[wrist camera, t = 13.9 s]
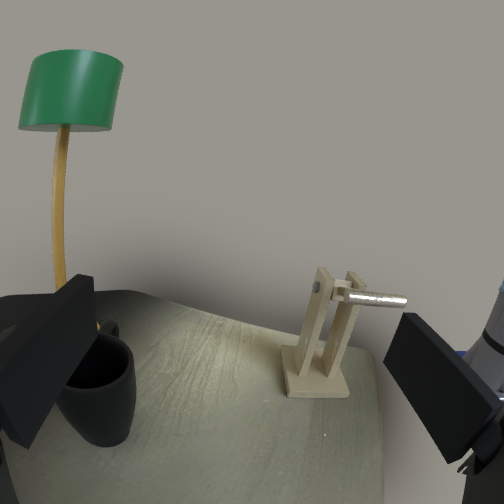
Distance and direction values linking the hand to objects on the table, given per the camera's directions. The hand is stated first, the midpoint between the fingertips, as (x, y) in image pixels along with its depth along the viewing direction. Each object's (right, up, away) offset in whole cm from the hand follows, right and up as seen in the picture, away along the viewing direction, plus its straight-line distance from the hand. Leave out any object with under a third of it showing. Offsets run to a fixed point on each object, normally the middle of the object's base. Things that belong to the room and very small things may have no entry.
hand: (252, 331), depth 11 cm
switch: (+10, -2, +18) cm, 21 cm away
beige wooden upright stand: (+8, -14, +26) cm, 31 cm away
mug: (-15, -14, +13) cm, 24 cm away
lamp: (-26, -9, +23) cm, 36 cm away
